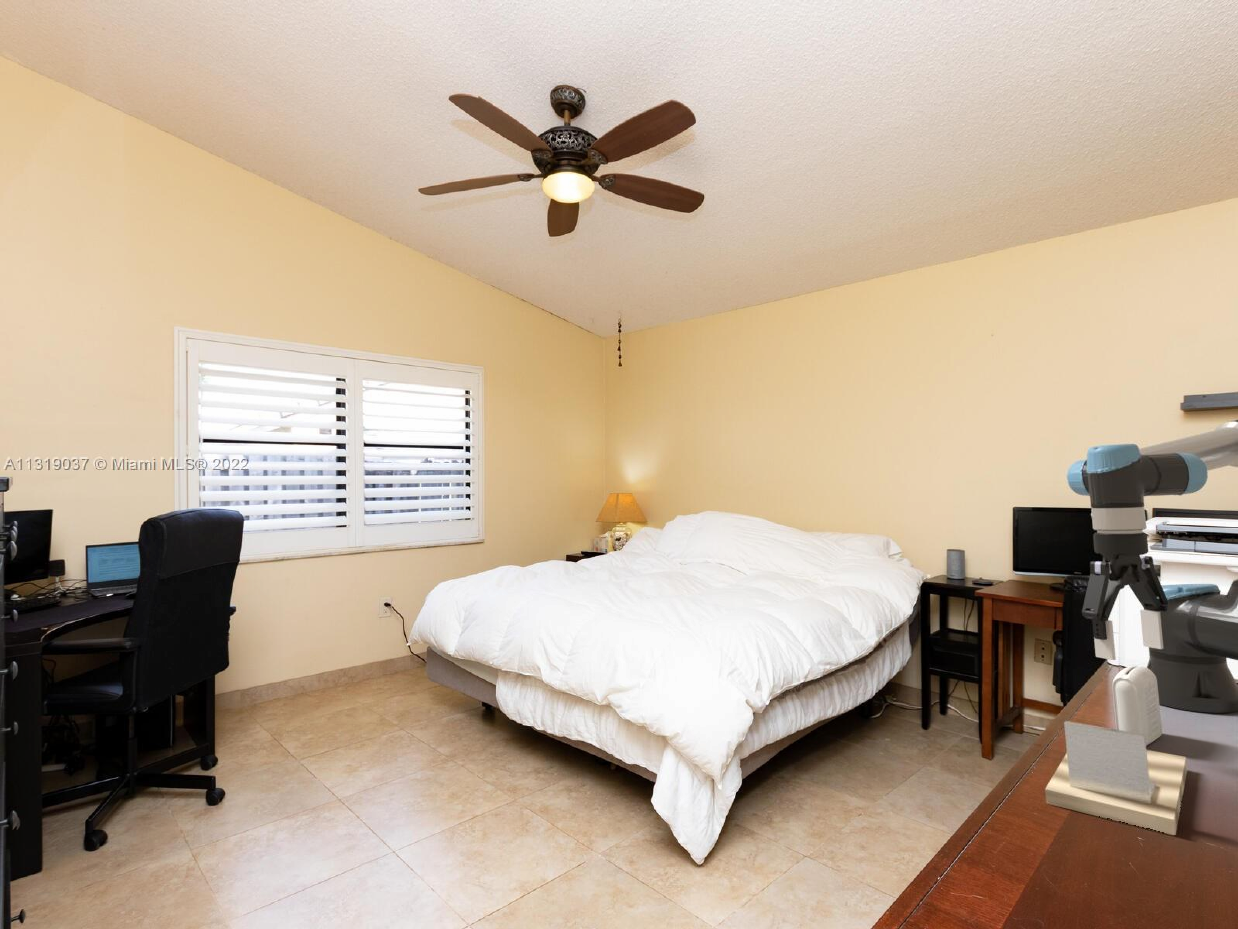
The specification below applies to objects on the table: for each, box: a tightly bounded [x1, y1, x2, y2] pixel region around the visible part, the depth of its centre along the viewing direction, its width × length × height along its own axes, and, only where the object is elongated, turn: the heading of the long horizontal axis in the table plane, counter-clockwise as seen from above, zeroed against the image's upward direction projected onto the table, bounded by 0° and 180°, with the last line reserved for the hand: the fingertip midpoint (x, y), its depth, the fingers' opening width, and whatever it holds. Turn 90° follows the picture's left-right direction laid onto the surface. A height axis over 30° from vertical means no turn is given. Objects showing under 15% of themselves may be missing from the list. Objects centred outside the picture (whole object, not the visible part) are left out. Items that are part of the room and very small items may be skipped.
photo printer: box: [1111, 665, 1163, 746], centre depth 111 cm, size 10×4×12 cm, turn 124°
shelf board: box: [1044, 749, 1188, 836], centre depth 95 cm, size 24×14×2 cm, turn 135°
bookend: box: [1063, 720, 1156, 805], centre depth 91 cm, size 7×9×9 cm
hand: (1130, 653), depth 111 cm, fingers open, 13 cm apart
